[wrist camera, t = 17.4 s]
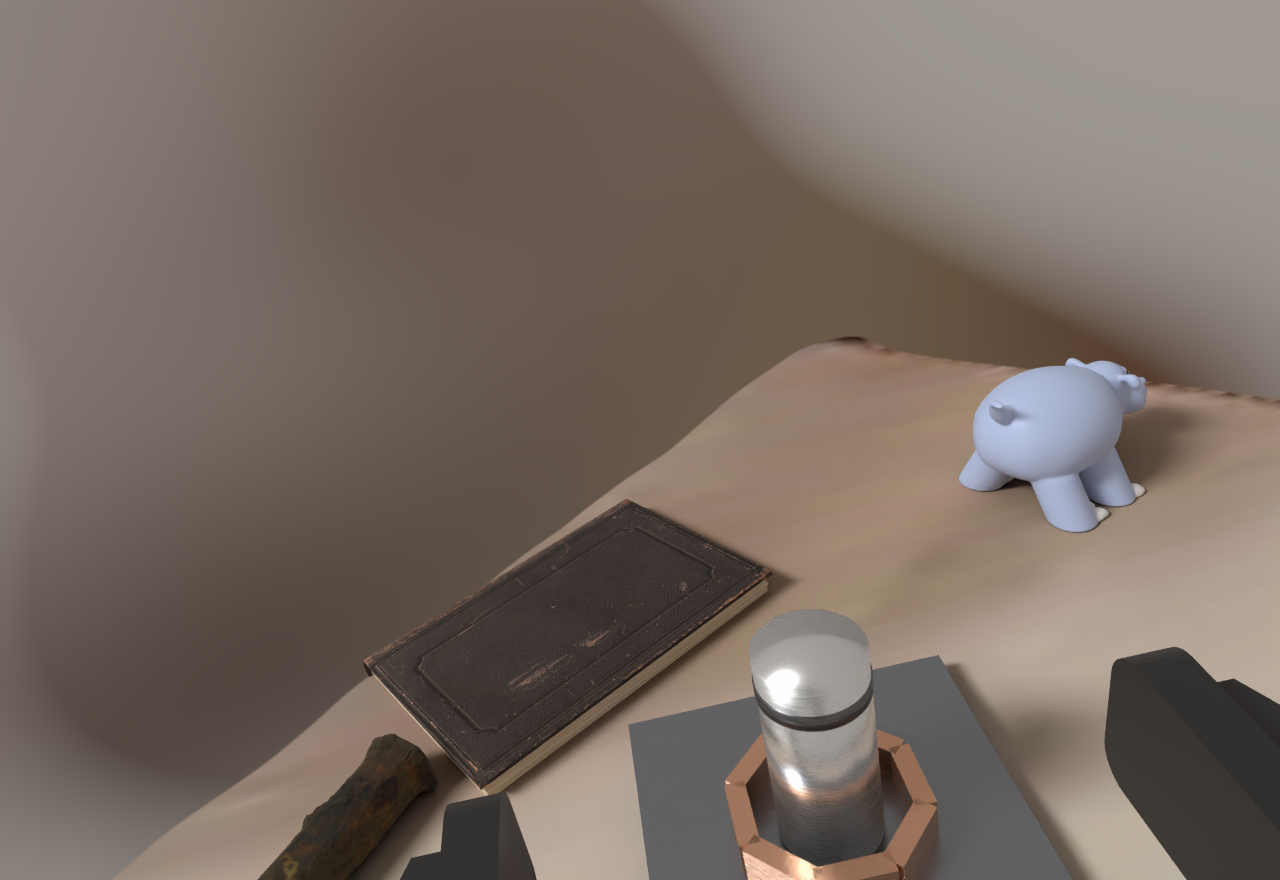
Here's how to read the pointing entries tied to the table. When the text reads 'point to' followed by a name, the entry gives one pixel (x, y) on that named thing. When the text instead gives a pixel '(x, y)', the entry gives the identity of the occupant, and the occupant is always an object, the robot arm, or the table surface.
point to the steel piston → (820, 734)
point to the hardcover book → (562, 639)
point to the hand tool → (356, 814)
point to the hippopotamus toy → (1059, 439)
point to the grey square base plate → (911, 789)
